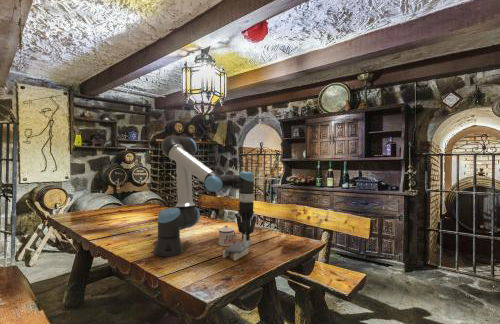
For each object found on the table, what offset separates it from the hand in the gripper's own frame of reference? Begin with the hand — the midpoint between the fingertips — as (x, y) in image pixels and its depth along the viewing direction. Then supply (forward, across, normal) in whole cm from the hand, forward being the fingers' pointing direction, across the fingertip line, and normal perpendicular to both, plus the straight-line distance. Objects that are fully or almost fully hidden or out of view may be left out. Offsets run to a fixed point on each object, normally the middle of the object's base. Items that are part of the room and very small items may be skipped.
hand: (245, 246), depth 144 cm
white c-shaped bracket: (+6, -7, +3) cm, 10 cm away
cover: (+2, -6, +3) cm, 7 cm away
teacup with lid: (+7, -22, +16) cm, 28 cm away
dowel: (+6, -7, 0) cm, 9 cm away
